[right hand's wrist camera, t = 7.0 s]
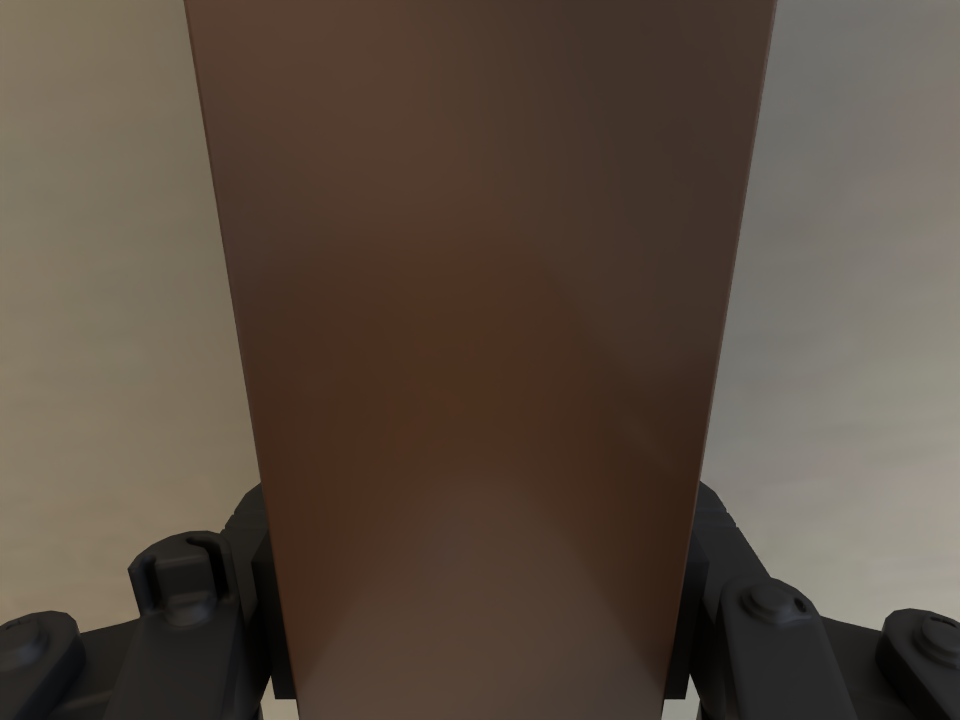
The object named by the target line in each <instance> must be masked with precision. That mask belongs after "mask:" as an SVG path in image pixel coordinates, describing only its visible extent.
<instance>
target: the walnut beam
mask: <svg viewBox="0 0 960 720" xmlns="http://www.w3.org/2000/svg"><path fill="white" fill-rule="evenodd" d="M184 5H185V12H186V18H187V24H188V30H189V36H190V43H191V49H192V55H193V61H194V68H195V74H196V80H197V86H198V93H199V99H200V105H201V111H202V117H203V124H204V130H205V136H206V142H207V149H208V155H209V161H210V167H211V173H212V180H213V186H214V192H215V198H216V205H217V211H218V217H219V223H220V229H221V236H222V242H223V248H224V254H225V261H226V267H227V273H228V279H229V285H230V292H231V298H232V304H233V310H234V317H235V323H236V329H237V335H238V342H239V348H240V354H241V360H242V366H243V373H244V379H245V385H246V391H247V398H248V404H249V410H250V416H251V422H252V429H253V435H254V441H255V447H256V454H257V460H258V466H259V472H260V478H261V485H262V491H263V497H264V503H265V510H266V516H267V522H268V528H269V534H270V541H271V547H272V553H273V559H274V566H275V572H276V578H277V584H278V591H279V597H280V603H281V609H282V615H283V622H284V628H285V634H286V640H287V647H288V653H289V659H290V665H291V671H292V678H293V684H294V690H295V696H296V703H297V709H298V715H299V720H661V718H662V711H663V705H664V699H665V693H666V687H667V681H668V674H669V668H670V662H671V656H672V650H673V643H674V637H675V631H676V625H677V619H678V612H679V606H680V600H681V594H682V588H683V581H684V575H685V569H686V563H687V557H688V550H689V544H690V538H691V532H692V526H693V520H694V513H695V507H696V501H697V495H698V489H699V482H700V476H701V470H702V464H703V458H704V451H705V445H706V439H707V433H708V427H709V420H710V414H711V408H712V402H713V396H714V389H715V383H716V377H717V371H718V365H719V359H720V352H721V346H722V340H723V334H724V328H725V321H726V315H727V309H728V303H729V297H730V290H731V284H732V278H733V272H734V266H735V259H736V253H737V247H738V241H739V235H740V229H741V222H742V216H743V210H744V204H745V198H746V191H747V185H748V179H749V173H750V167H751V160H752V154H753V148H754V142H755V136H756V129H757V123H758V117H759V111H760V105H761V98H762V92H763V86H764V80H765V74H766V68H767V61H768V55H769V49H770V43H771V37H772V30H773V24H774V18H775V12H776V6H777V0H184Z"/></svg>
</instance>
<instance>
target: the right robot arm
mask: <svg viewBox="0 0 960 720" xmlns="http://www.w3.org/2000/svg"><path fill="white" fill-rule="evenodd" d="M128 573H129V576H130V580H131V583H132V587H133V591H134V594H135V598H136V601H137V605H138V609H139V612H140V618H138V619H135V620H132V621H129V622H126V623H122V624H118V625H113V626H109V627H105V628H101V629H97V630H92V631H88V632H84V633H80V632H79V629H78V626H77V623H76V621H75V620H74V619H73V618H72V617H71V616H70V615H69V614H67V613H63V612H57V611H45V612H38V613H31V614H28V615H25V616H23V617H20V618H17V619H14V620H11V621H9V622H7V623H5V624H3V625H1V626H0V720H263V714H262V708H261V703H260V702H261V699H262V697H263V694H264V691H265V689H266V686H267V684H268V681H269V678H270V676H271V679H272V684H273V690H274V695H275V699H296V696H295V690H294V684H293V678H292V671H291V665H290V659H289V653H288V647H287V640H286V634H285V628H284V622H283V615H282V609H281V603H280V597H279V591H278V584H277V578H276V572H275V566H274V559H273V553H272V547H271V541H270V534H269V528H268V522H267V516H266V510H265V503H264V497H263V491H262V485H261V483H260V484H258V485H257V486H256V487H254V488H253V489H252V490H250V491H249V492H248V493H246V494H245V496H244V497H243V499H242V500H241V502H240V503H239V505H238V506H237V508H236V509H235V511H234V515H232V516H231V517H230V519H229V520H228V522H227V523H226V525H225V529H222V531H221V533H220V534H218V533H214V532H211V531H189V532H185V533H181V534H177V535H173V536H170V537H167V538H165V539H163V540H161V541H159V542H157V543H155V544H152V545H151V546H150V547H148V548H147V549H146V550H144V551H143V552H142V553H140V554H139V555H138V556H137V557H136V558H135V559H134V561H133V562H132V564H131V565H130V566H129V568H128ZM689 675H691V677H692V680H693V682H694V685H695V688H696V690H697V693H698V695H699V698H700V703H699V708H698V713H697V718H696V720H960V623H959V622H957V621H955V620H953V619H951V618H948V617H945V616H942V615H940V614H937V613H934V612H931V611H925V610H918V609H911V608H909V609H902V610H896V611H894V612H892V613H891V614H890V615H889V616H888V617H887V618H886V619H885V622H884V625H883V628H882V631H878V630H874V629H870V628H865V627H861V626H857V625H853V624H848V623H844V622H840V621H836V620H833V619H830V618H826V617H823V616H820V615H819V613H818V611H817V610H816V608H815V607H814V605H813V603H812V602H811V601H810V600H809V599H808V598H807V597H806V596H804V595H803V594H802V593H801V592H800V591H798V590H797V589H796V588H794V587H792V586H790V585H788V584H786V583H784V582H782V581H780V580H778V579H774V578H771V577H770V575H769V574H768V572H767V571H766V569H765V568H764V566H763V565H762V563H761V562H760V560H759V559H758V557H757V556H756V554H755V552H754V551H753V549H752V548H751V546H750V545H749V543H748V542H747V540H746V539H745V537H744V536H743V534H742V533H741V531H740V529H739V528H738V527H736V523H735V522H734V520H733V519H732V517H731V516H730V514H729V513H727V511H726V508H725V506H724V505H723V503H722V502H721V500H720V499H719V497H718V496H717V494H716V493H715V492H714V491H713V490H712V489H710V488H709V487H708V486H706V485H705V484H703V483H702V482H701V481H700V482H699V489H698V495H697V501H696V507H695V513H694V520H693V526H692V532H691V538H690V544H689V550H688V557H687V563H686V569H685V575H684V581H683V588H682V594H681V600H680V606H679V612H678V619H677V625H676V631H675V637H674V643H673V650H672V656H671V662H670V668H669V674H668V681H667V687H666V693H665V699H685V697H686V692H687V686H688V681H689Z"/></svg>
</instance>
